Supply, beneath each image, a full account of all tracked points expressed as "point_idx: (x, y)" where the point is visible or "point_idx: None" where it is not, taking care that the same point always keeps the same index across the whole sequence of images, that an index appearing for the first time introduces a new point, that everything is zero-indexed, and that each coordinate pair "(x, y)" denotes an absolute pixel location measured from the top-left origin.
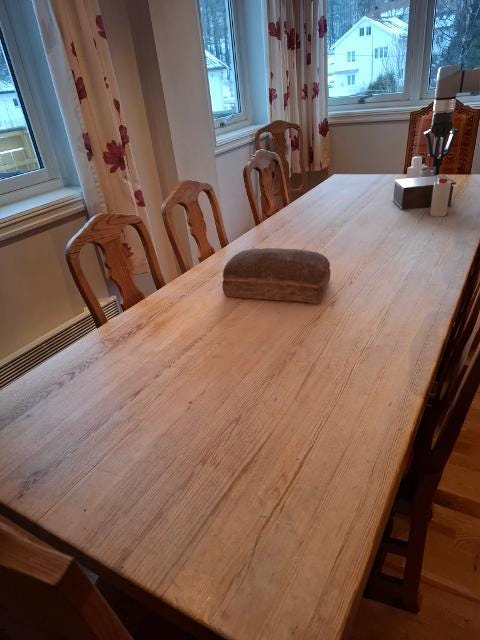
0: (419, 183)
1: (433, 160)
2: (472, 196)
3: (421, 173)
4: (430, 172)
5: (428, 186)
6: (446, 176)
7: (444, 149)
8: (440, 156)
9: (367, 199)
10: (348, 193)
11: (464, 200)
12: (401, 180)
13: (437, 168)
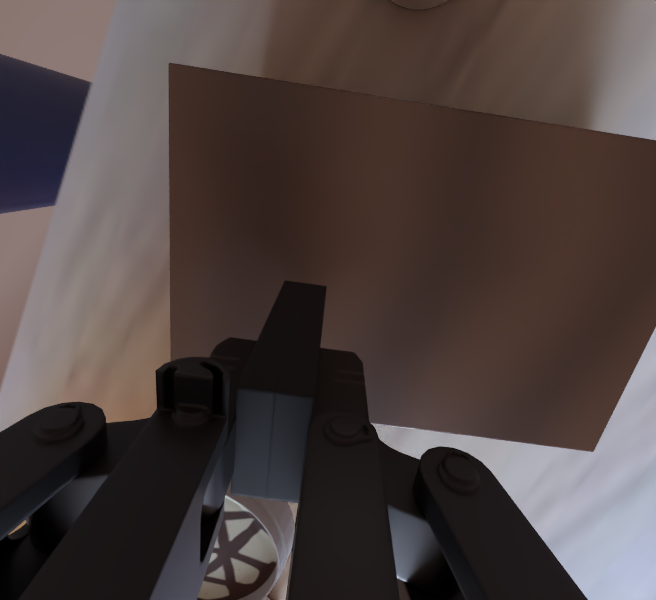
0: (510, 230)
1: (365, 407)
2: (48, 270)
3: (289, 540)
4: (244, 501)
5: (472, 111)
6: (172, 339)
7: (60, 559)
8: (226, 433)
9: (620, 438)
10: (633, 560)
11: (119, 208)
12: (567, 411)
13: (300, 311)
